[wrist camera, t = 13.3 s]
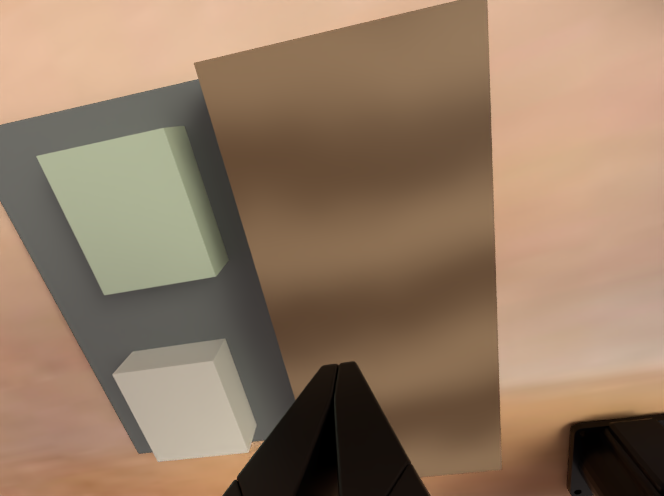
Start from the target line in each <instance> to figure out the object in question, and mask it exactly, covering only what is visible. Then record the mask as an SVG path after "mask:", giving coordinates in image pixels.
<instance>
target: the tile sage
mask: <svg viewBox="0 0 664 496" xmlns="http://www.w3.org/2000/svg"><path fill="white" fill-rule="evenodd" d="M36 157H37V159H38V161H39V163H40V165H41V167H42V169H43V171H44V173H45V175H46V177H47V179H48V182H49V184H50V186H51V188H52V190H53V192H54V194H55V196H56V198H57V200H58V202H59V204H60V206H61V208H62V210H63V212H64V214H65V216H66V218H67V220H68V222H69V224H70V226H71V228H72V230H73V232H74V235H75V237H76V239H77V241H78V243H79V245H80V247H81V249H82V251H83V253H84V255H85V257H86V259H87V261H88V263H89V265H90V267H91V269H92V271H93V273H94V275H95V277H96V279H97V281H98V283H99V285H100V288H101V290H102V292H103V294H104V295H109V294H115V293H121V292H127V291H133V290H139V289H145V288H151V287H157V286H163V285H169V284H175V283H181V282H187V281H193V280H199V279H205V278H211V277H216V276H217V275H218V273H219V272H220V271H221V270H222V268H223V267H224V266H225V265H226V263H227V262H228V261H229V259H228V256H227V253H226V250H225V247H224V244H223V241H222V238H221V235H220V232H219V229H218V226H217V223H216V220H215V217H214V214H213V211H212V208H211V205H210V202H209V199H208V196H207V193H206V190H205V187H204V184H203V181H202V178H201V175H200V172H199V169H198V165H197V162H196V159H195V156H194V153H193V150H192V147H191V144H190V141H189V138H188V135H187V132H186V129H185V126H177V127H167V128H160V129H156V130H151V131H147V132H142V133H138V134H133V135H129V136H124V137H120V138H115V139H111V140H106V141H102V142H97V143H93V144H88V145H84V146H79V147H75V148H70V149H66V150H61V151H57V152H52V153H48V154H43V155H39V156H36Z"/></svg>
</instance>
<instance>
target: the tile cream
mask: <svg viewBox="0 0 664 496" xmlns="http://www.w3.org/2000/svg"><path fill="white" fill-rule="evenodd" d="M112 375H113V377H114V379H115V381H116V383H117V385H118V387H119V388H120V390H121V392H122V394H123V396H124V398H125V400H126V402H127V404H128V406H129V408H130V409H131V411H132V413H133V415H134V417H135V419H136V421H137V423H138V425H139V427H140V428H141V430H142V432H143V434H144V436H145V438H146V440H147V442H148V444H149V446H150V448H151V449H152V451H153V453H154V455H155V457H156V459H157V461H158V462H162V461H171V460H181V459H191V458H200V457H210V456H220V455H229V454H239V453H249V450H250V446H251V443H252V440H253V436H254V433H255V429H256V426H257V425H256V422H255V419H254V416H253V414H252V411H251V408H250V405H249V403H248V400H247V397H246V394H245V392H244V389H243V386H242V383H241V381H240V378H239V375H238V372H237V370H236V367H235V364H234V361H233V359H232V356H231V353H230V350H229V348H228V345H227V342H226V339H225V338H224V339H217V340H210V341H203V342H196V343H189V344H182V345H175V346H168V347H161V348H154V349H147V350H140V351H133V352H132V353H131V354H130V355H129V356H128V357H127V358H126V359H125V361H124V362H123V363H122V364H121V365H120V366H119V367H118V368H117V370H116V371H115V372H114V373H113V374H112Z"/></svg>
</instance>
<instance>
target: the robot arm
mask: <svg viewBox="0 0 664 496" xmlns="http://www.w3.org/2000/svg"><path fill="white" fill-rule="evenodd" d="M567 489H568V491H569V492H570V494H571V495H572V496H664V414H662V415H653V416H643V417H633V418H623V419H613V420H604V421H594V422H584V423H577V424H575V425H573V426H572V427H571V432H570V447H569V463H568V478H567ZM222 496H431V495H430V494H429V492H428V490H427V489H426V487H425V485H424V484H423V482H422V480H421V479H420V477H419V475H418V473H417V471H416V470H415V468H414V466H413V465H412V464H411V461H410V459H409V457H408V455H407V454H406V452H405V450H404V448H403V446H402V445H401V443H400V441H399V439H398V437H397V435H396V434H395V432H394V430H393V428H392V426H391V425H390V423H389V421H388V419H387V417H386V416H385V414H384V412H383V410H382V408H381V406H380V405H379V403H378V401H377V399H376V397H375V396H374V394H373V392H372V390H371V388H370V386H369V385H368V383H367V381H366V379H365V377H364V376H363V374H362V372H361V370H360V368H359V366H358V365H357V363H356V362H355V361H350V362H343V363H340V364H339V365H338V364H336V363H335V364H328V365H323V366H321V367H320V369H319V370H318V371H317V372H316V374H315V375H314V376H313V378H312V379H311V380H310V382H309V383H308V384H307V386H306V387H305V388H304V390H303V391H302V392H301V393H300V395H299V396H298V397H297V399H296V400H295V401H294V403H293V404H292V405H291V407H290V408H289V409H288V410H287V412H286V413H285V414H284V416H283V417H282V418H281V420H280V421H279V422H278V424H277V425H276V426H275V428H274V429H273V430H272V431H271V433H270V434H269V435H268V437H267V438H266V439H265V441H264V442H263V443H262V445H261V446H260V447H259V449H258V450H257V451H256V452H255V454H254V455H253V456H252V458H251V459H250V460H249V462H248V463H247V464H246V466H245V467H244V468H243V469H242V471H241V472H240V473H239V475H238V476H237V480H234V481H233V482H232V484H231V485H230V486H229V488H228V489H227V490H226V492H225V493H224V494H223V495H222Z"/></svg>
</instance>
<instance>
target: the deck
mask: <svg viewBox="0 0 664 496" xmlns="http://www.w3.org/2000/svg"><path fill="white" fill-rule="evenodd" d="M194 65H195V69H196V72H197V75H198V79H199V82H200V85H201V88H202V92H203V95H204V98H205V102H206V105H207V108H208V112H209V115H210V118H211V122H212V125H213V128H214V132H215V135H216V138H217V142H218V145H219V148H220V152H221V155H222V158H223V161H224V165H225V168H226V171H227V175H228V178H229V181H230V185H231V188H232V191H233V195H234V198H235V201H236V205H237V208H238V211H239V215H240V218H241V221H242V225H243V228H244V231H245V235H246V238H247V241H248V244H249V248H250V251H251V254H252V258H253V261H254V264H255V268H256V271H257V274H258V278H259V281H260V284H261V288H262V291H263V294H264V298H265V301H266V304H267V308H268V311H269V314H270V318H271V321H272V324H273V327H274V331H275V334H276V337H277V341H278V344H279V347H280V351H281V354H282V357H283V361H284V364H285V367H286V371H287V374H288V377H289V381H290V384H291V387H292V391H293V394H294V397H295V400H296V399H297V397H298V396H299V395H300V393H301V392H302V391H303V390H304V388H305V387H306V386H307V384H308V383H309V382H310V380H311V379H312V378H313V376H314V375H315V374H316V372H317V371H318V370H319V369H320V367H321V366H323V365H328V364H335V363H336V364H338V365H339V364H340V363H343V362H350V361H355V362H356V363H357V365H358V366H359V368H360V370H361V372H362V374H363V376H364V377H365V379H366V381H367V383H368V385H369V386H370V388H371V390H372V392H373V394H374V396H375V397H376V399H377V401H378V403H379V405H380V406H381V408H382V410H383V412H384V414H385V416H386V417H387V419H388V421H389V423H390V425H391V426H392V428H393V430H394V432H395V434H396V435H397V437H398V439H399V441H400V443H401V445H402V446H403V448H404V450H405V452H406V454H407V455H408V457H409V459H410V461H411V464H412V465H413V466H414V468H415V470H416V471H417V473H418V475H419V477H430V476H441V475H452V474H463V473H474V472H485V471H496V470H502V458H501V426H500V394H499V362H498V330H497V297H496V265H495V233H494V201H493V169H492V137H491V105H490V73H489V41H488V9H487V0H458V1H454V2H449V3H445V4H441V5H437V6H432V7H428V8H424V9H420V10H416V11H411V12H407V13H403V14H399V15H395V16H390V17H386V18H382V19H378V20H373V21H369V22H365V23H361V24H357V25H352V26H348V27H344V28H340V29H335V30H331V31H327V32H323V33H319V34H314V35H310V36H306V37H302V38H298V39H293V40H289V41H285V42H281V43H276V44H272V45H268V46H264V47H260V48H255V49H251V50H247V51H243V52H238V53H234V54H230V55H226V56H222V57H217V58H213V59H209V60H205V61H201V62H196V63H194Z"/></svg>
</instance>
